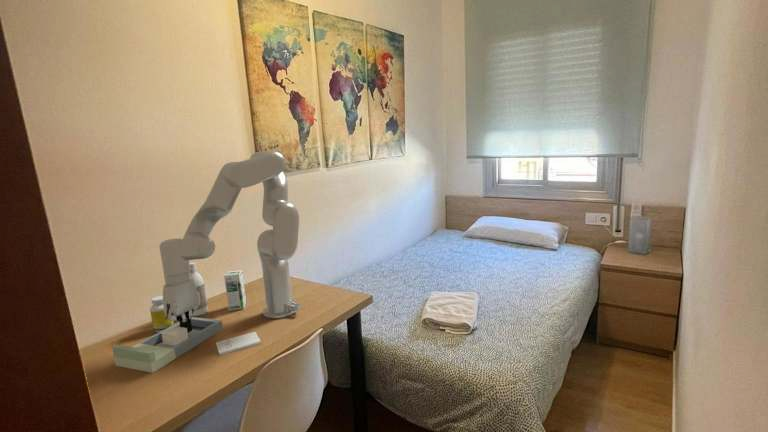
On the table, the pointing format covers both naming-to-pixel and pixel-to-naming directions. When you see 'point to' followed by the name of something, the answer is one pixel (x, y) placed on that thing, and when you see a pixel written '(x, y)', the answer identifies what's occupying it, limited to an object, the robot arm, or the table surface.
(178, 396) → the table surface
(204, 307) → the bath foam
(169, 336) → the block
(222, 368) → the table surface
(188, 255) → the robot arm
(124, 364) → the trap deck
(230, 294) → the syrup box
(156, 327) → the pill bottle
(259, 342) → the external hard drive
